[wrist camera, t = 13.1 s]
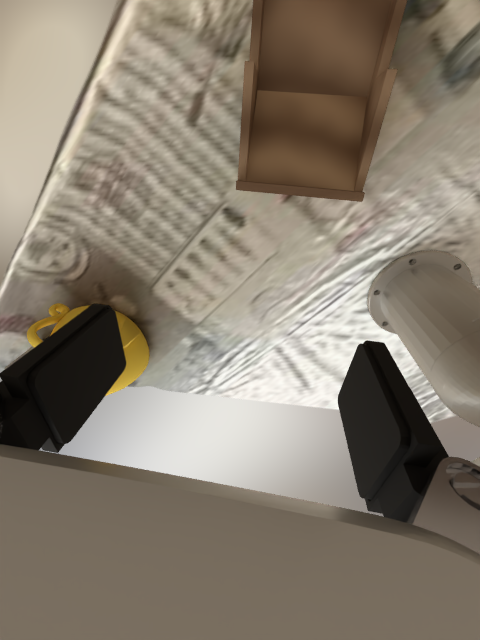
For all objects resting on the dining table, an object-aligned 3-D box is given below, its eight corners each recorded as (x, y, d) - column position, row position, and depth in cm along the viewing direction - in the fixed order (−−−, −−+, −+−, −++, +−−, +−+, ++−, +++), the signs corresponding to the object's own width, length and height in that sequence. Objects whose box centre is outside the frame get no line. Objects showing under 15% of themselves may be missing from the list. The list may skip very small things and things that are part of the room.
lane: (347, 194, 31) (362, 201, 25) (244, 184, 32) (235, 189, 26) (465, -254, 17) (562, -474, 11) (274, -246, 18) (271, -444, 12)
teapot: (120, 381, 55) (80, 435, 45) (43, 319, 49) (-24, 363, 38) (184, 341, 47) (155, 395, 36) (102, 259, 41) (37, 294, 30)
